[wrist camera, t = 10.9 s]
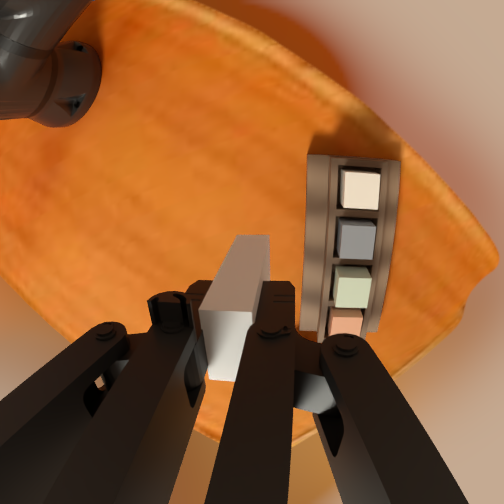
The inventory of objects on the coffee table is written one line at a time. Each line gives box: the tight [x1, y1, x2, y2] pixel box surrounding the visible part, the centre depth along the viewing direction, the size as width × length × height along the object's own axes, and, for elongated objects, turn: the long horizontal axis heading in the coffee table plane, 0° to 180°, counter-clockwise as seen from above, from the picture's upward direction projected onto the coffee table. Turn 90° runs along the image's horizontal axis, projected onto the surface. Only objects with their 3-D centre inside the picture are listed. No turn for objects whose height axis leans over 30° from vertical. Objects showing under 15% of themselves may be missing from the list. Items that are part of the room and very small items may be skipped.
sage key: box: [333, 266, 372, 308], centre depth 37 cm, size 4×4×4 cm
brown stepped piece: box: [299, 154, 401, 343], centre depth 40 cm, size 25×12×6 cm, turn 1°
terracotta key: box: [328, 306, 363, 336], centre depth 40 cm, size 4×4×4 cm
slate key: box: [336, 218, 376, 260], centre depth 36 cm, size 4×4×4 cm
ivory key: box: [340, 169, 380, 210], centre depth 34 cm, size 4×4×4 cm
